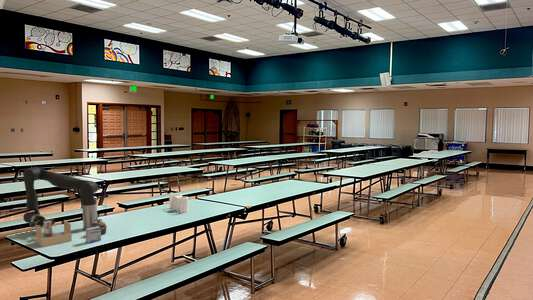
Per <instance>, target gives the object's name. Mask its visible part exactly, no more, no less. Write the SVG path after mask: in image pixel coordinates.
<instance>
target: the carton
mask: <svg viewBox="0 0 533 300" xmlns="http://www.w3.org/2000/svg"><path fill="white" fill-rule="evenodd" d="M71 224H72V223H70V222H68V221H67V220H65V219H64V220H63V234H62V233H60V232H56V233H52V237H48V238H45V237H44V235H43V229H42V227H39V226H37V225H36V227H35V236H34V237H31V239H32V240H33V241H35V243H36V244H38V245H39V246H41V247H42V248H43V247H44V248H45V247H48V246H49V247H50V246H53V245H59V244H63V243H68V242H72V241H73V240H72V225H71Z"/></svg>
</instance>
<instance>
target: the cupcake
mask: <svg viewBox="0 0 533 300" xmlns="http://www.w3.org/2000/svg"><path fill="white" fill-rule="evenodd" d="M97 226H98V227H100V228H101V236H104V235H106V233H107V229H108V226H107V224H106V222H105V221H104V220H103V219H102V218H98V220H94V223H92V227H97ZM92 227H91V228H92Z"/></svg>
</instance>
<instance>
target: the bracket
mask: <svg viewBox="0 0 533 300" xmlns="http://www.w3.org/2000/svg"><path fill="white" fill-rule="evenodd" d="M168 196H169V197H168V198H169V199H168V200H169V201H168V202H169V209H170V210H171V209H172V211H176V212H177V213H180V214H186V213H189V211H190V210H189V196H183V195H182V193H173V194H172V193H171V194H169V195H168Z"/></svg>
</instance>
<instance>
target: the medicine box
mask: <svg viewBox="0 0 533 300" xmlns="http://www.w3.org/2000/svg"><path fill="white" fill-rule="evenodd" d="M84 232H85V242H86V243H88V244H92V243H96V242H101V241H102V235H101V228H100V227H98V226H97V227H92V228H88V229H85V231H84Z"/></svg>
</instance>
